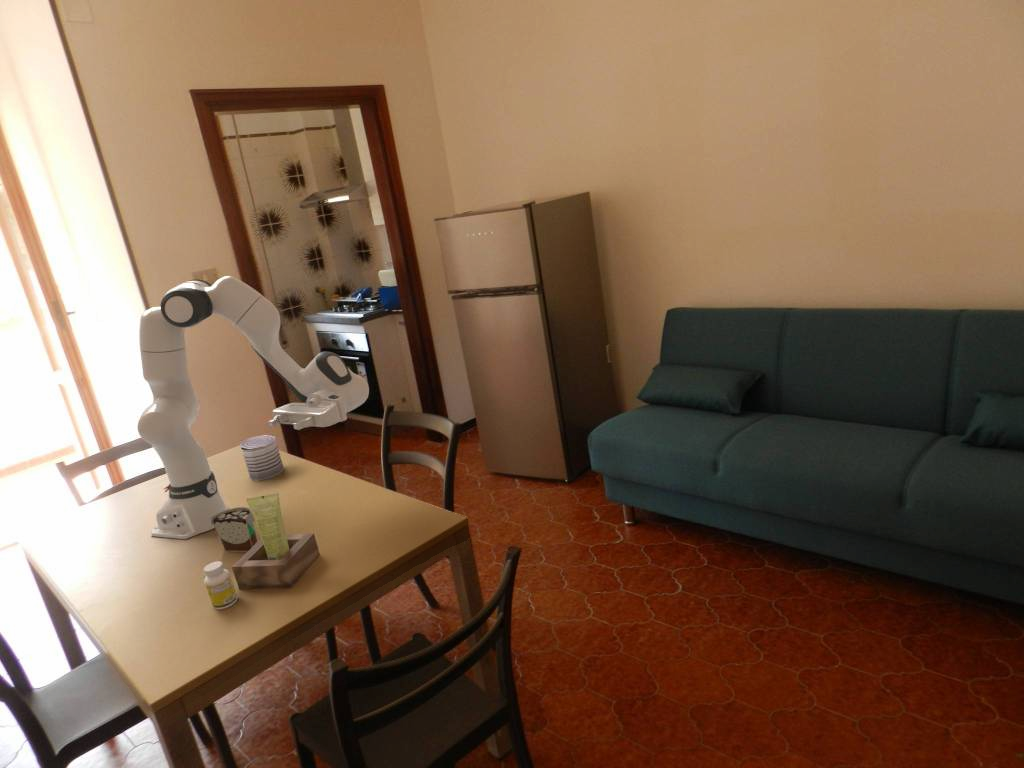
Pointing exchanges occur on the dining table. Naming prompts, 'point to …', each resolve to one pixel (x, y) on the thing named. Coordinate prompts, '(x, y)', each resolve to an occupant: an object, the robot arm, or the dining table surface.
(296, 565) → the organiser
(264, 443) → the can
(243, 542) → the food container
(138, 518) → the dining table surface
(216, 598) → the supplement bottle
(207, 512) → the robot arm
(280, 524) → the tube
